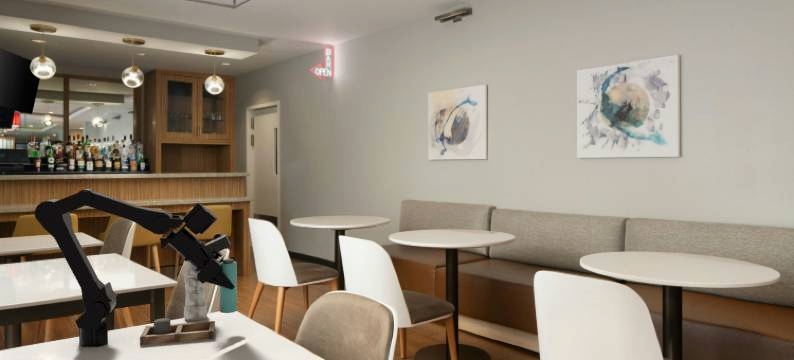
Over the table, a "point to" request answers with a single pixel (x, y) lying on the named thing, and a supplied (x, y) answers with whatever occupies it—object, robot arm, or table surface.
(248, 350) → the table surface
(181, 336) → the tray
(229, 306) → the teal rounded cylinder
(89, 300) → the robot arm
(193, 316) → the plastic bottle
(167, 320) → the dark gray rounded cylinder
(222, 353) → the table surface
